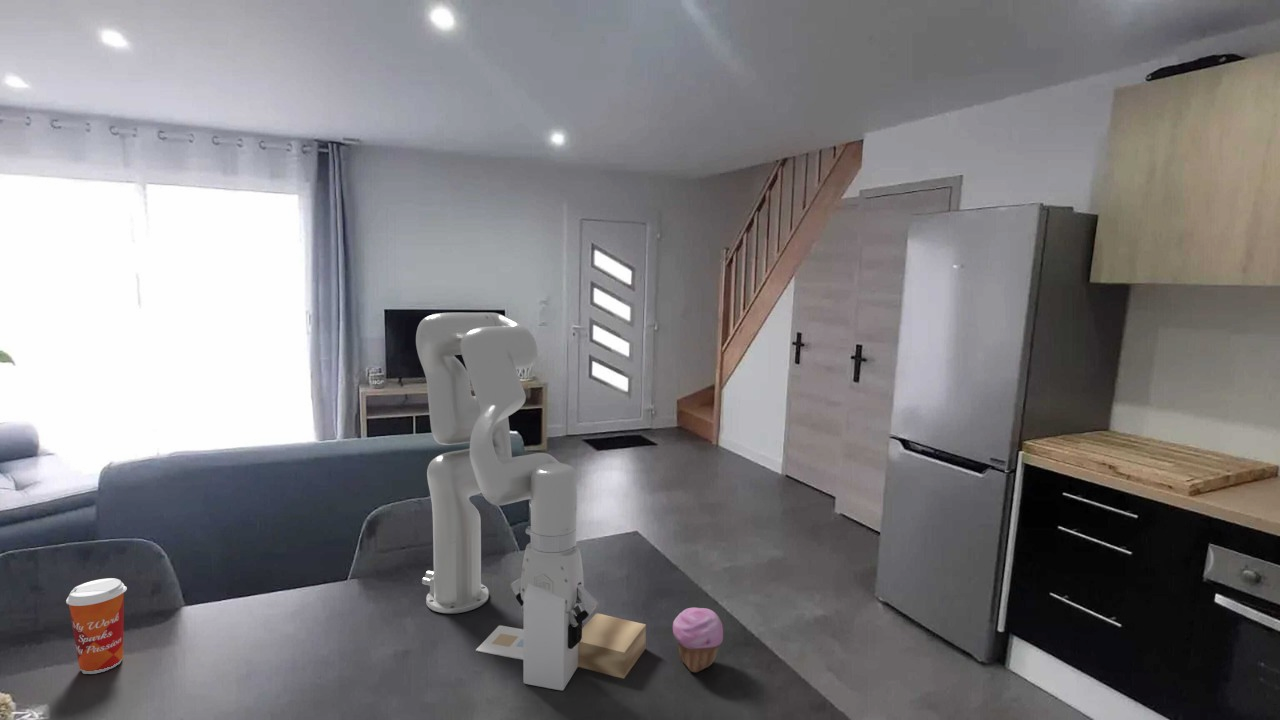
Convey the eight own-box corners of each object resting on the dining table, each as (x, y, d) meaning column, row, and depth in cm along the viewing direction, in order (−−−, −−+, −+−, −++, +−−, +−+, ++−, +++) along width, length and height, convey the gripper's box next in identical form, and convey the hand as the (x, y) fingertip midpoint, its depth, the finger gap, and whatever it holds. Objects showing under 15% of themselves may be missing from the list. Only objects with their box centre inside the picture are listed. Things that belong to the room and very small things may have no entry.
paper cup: (65, 684, 104) (58, 601, 103) (79, 659, 111) (73, 581, 110) (125, 671, 108) (120, 592, 106) (136, 648, 115) (131, 573, 113)
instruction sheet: (475, 650, 116) (475, 649, 116) (499, 626, 125) (499, 625, 125) (537, 662, 113) (536, 661, 113) (556, 636, 122) (556, 635, 122)
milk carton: (563, 692, 105) (564, 580, 103) (523, 684, 107) (523, 574, 105) (578, 667, 112) (579, 562, 110) (540, 660, 114) (540, 557, 112)
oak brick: (571, 666, 113) (571, 639, 112) (596, 638, 122) (596, 613, 122) (623, 680, 109) (624, 652, 109) (645, 650, 118) (645, 624, 118)
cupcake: (663, 656, 116) (665, 603, 115) (705, 646, 119) (707, 595, 118) (687, 684, 108) (689, 628, 107) (731, 673, 111) (734, 618, 110)
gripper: (497, 536, 108) (497, 636, 110) (587, 557, 100) (586, 663, 102) (523, 522, 114) (523, 616, 116) (610, 540, 107) (608, 640, 109)
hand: (552, 637), depth 109 cm, fingers closed on milk carton, 7 cm apart
